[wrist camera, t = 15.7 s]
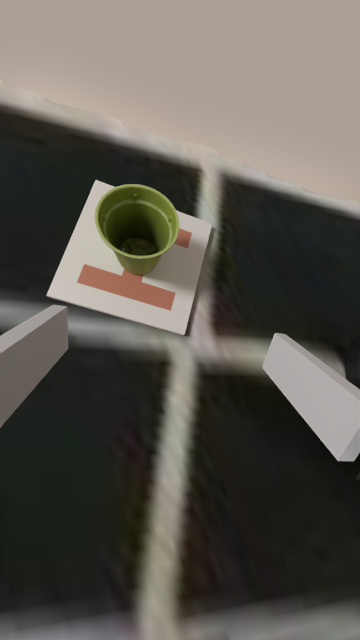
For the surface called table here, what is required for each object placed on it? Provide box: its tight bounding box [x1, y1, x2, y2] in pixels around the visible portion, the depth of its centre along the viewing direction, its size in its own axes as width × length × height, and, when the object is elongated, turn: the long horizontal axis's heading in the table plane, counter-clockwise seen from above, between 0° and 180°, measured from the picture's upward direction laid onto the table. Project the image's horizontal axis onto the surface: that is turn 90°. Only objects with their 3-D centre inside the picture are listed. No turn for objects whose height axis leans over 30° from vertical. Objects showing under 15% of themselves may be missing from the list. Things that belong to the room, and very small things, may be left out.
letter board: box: [47, 180, 212, 335], centre depth 32 cm, size 20×20×1 cm
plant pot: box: [95, 184, 179, 275], centre depth 27 cm, size 9×9×9 cm
